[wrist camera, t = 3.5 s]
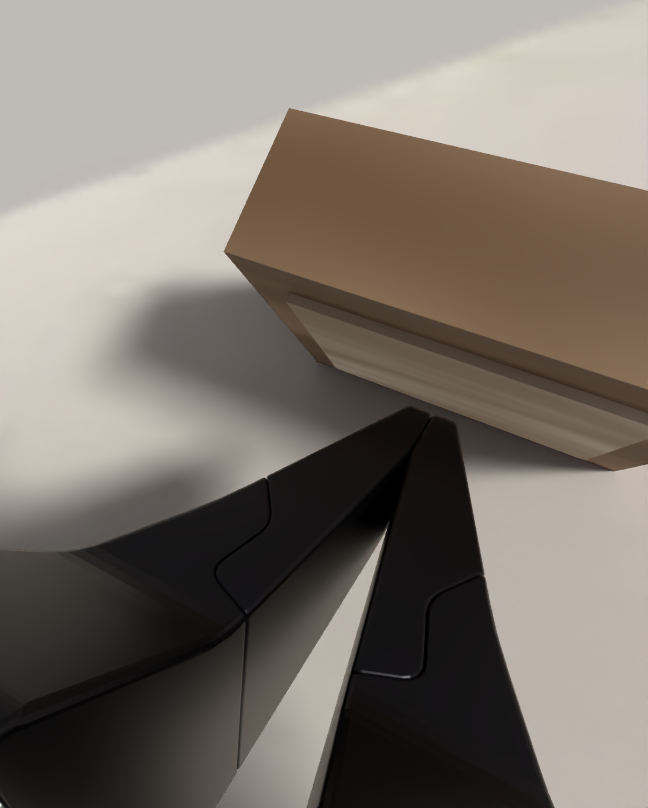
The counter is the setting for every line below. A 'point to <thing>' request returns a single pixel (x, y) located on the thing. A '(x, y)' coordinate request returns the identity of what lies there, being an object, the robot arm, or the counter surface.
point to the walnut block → (459, 280)
